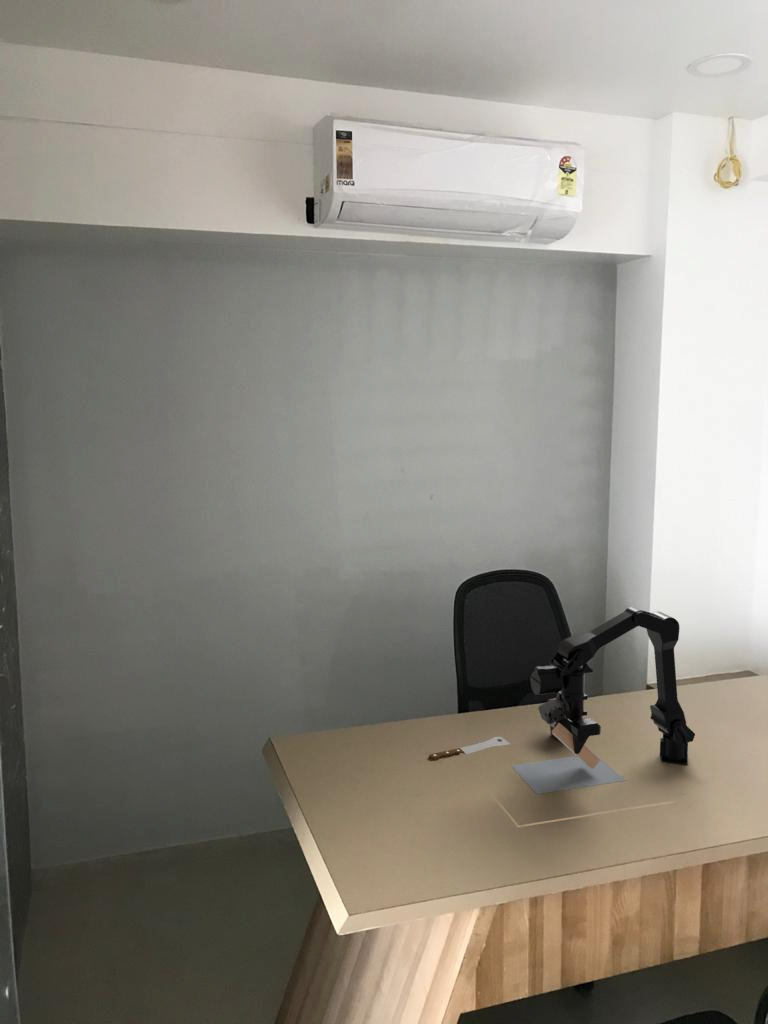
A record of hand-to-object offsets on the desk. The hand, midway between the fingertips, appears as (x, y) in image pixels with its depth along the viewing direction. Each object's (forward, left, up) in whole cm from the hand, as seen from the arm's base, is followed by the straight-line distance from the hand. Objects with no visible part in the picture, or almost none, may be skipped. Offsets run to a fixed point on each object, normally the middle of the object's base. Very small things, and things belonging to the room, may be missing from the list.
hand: (571, 748), depth 220 cm
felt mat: (+1, +1, -7) cm, 7 cm away
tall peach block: (-5, -3, -4) cm, 7 cm away
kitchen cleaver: (+26, -5, -7) cm, 28 cm away
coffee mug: (+5, -23, -7) cm, 24 cm away
